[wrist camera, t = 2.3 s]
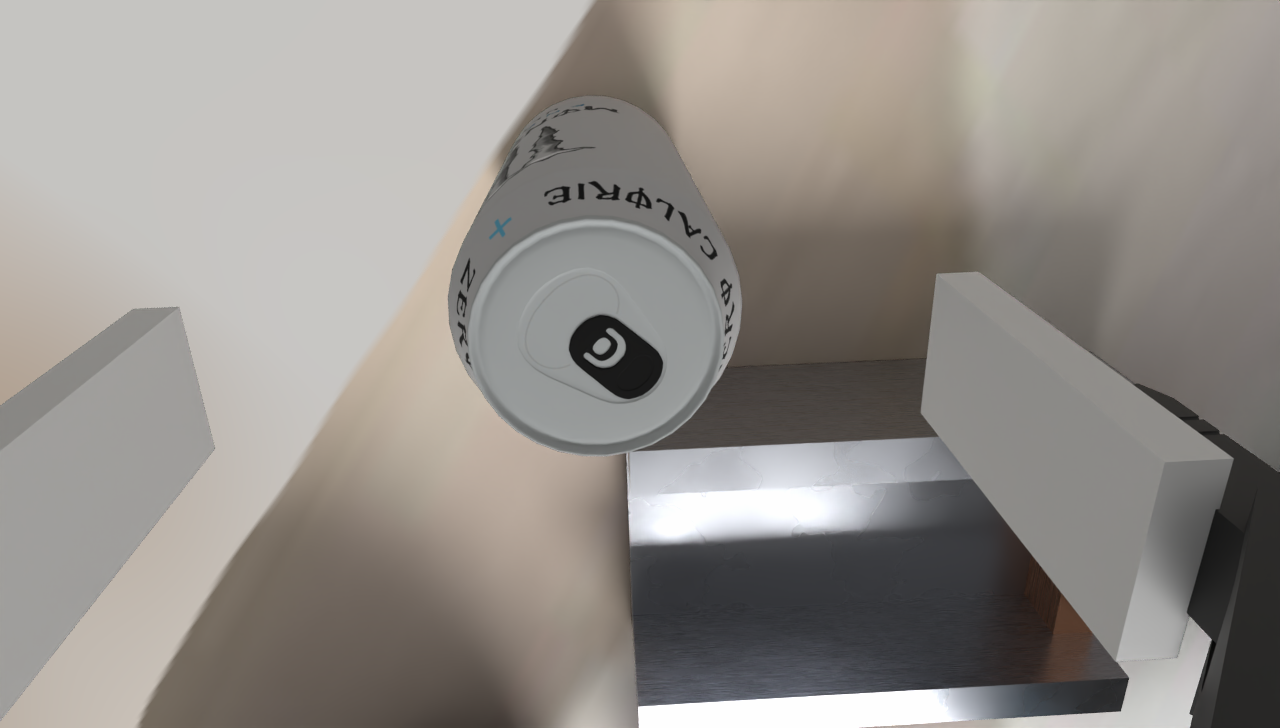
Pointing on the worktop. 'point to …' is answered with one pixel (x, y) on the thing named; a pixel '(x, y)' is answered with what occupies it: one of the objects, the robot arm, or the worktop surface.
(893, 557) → the channel
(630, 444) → the energy drink can
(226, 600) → the worktop surface
